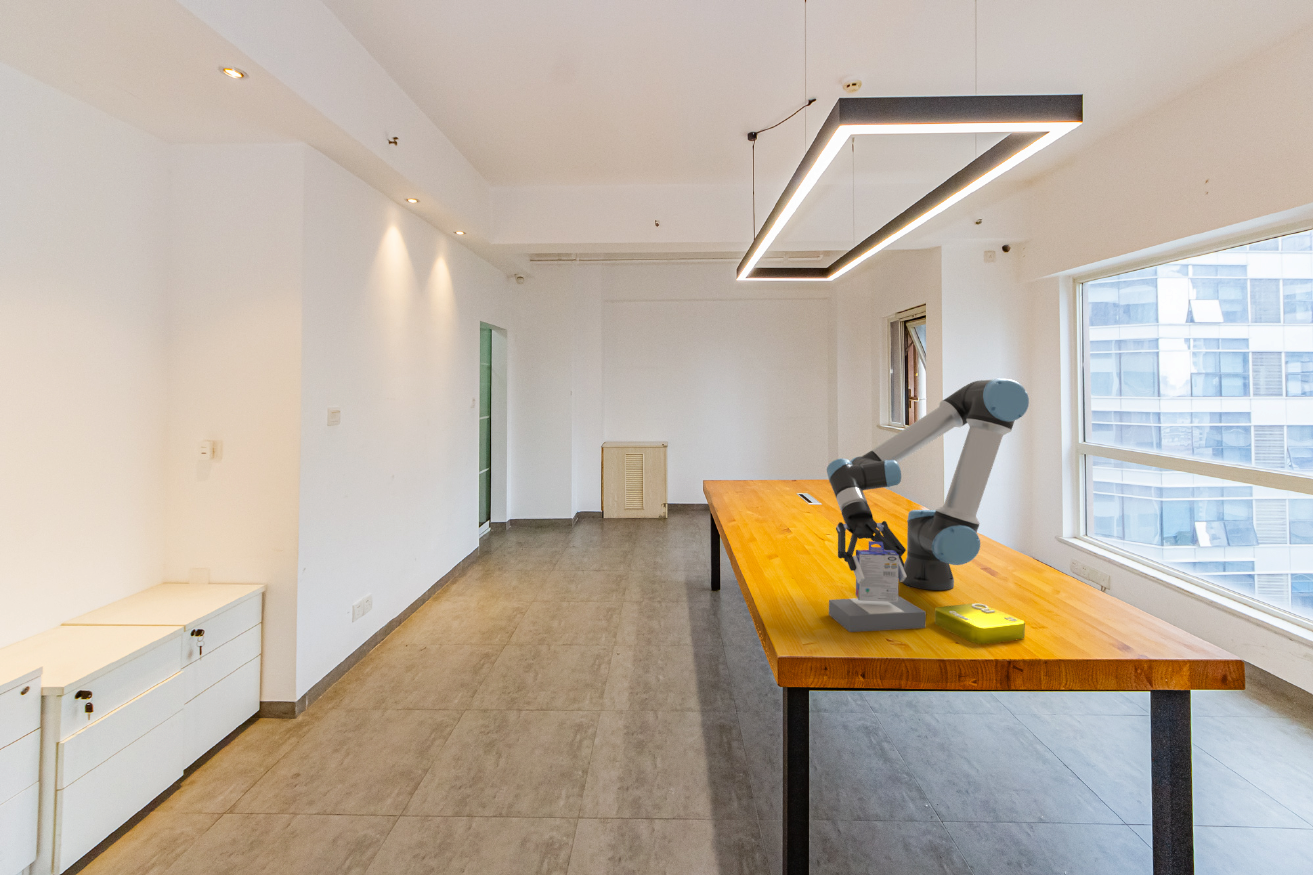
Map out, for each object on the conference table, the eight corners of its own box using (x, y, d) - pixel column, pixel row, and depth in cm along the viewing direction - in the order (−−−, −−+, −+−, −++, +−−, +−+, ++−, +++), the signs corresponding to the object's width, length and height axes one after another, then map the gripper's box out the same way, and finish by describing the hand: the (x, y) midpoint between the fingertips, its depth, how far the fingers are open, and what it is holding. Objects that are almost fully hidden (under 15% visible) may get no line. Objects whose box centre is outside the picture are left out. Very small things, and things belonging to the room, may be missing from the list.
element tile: (930, 623, 150) (931, 605, 149) (978, 618, 153) (979, 600, 153) (977, 646, 135) (977, 626, 135) (1028, 640, 139) (1029, 620, 139)
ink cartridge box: (893, 595, 152) (894, 540, 151) (899, 602, 147) (900, 546, 146) (854, 594, 153) (855, 539, 153) (858, 601, 148) (859, 545, 147)
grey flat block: (899, 610, 157) (899, 595, 157) (925, 627, 146) (925, 611, 145) (828, 614, 155) (829, 599, 155) (849, 631, 143) (849, 615, 143)
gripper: (888, 514, 166) (918, 585, 151) (810, 516, 163) (834, 589, 148) (898, 498, 160) (931, 570, 145) (818, 501, 157) (844, 574, 142)
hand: (882, 580), depth 147 cm, fingers closed on ink cartridge box, 10 cm apart
